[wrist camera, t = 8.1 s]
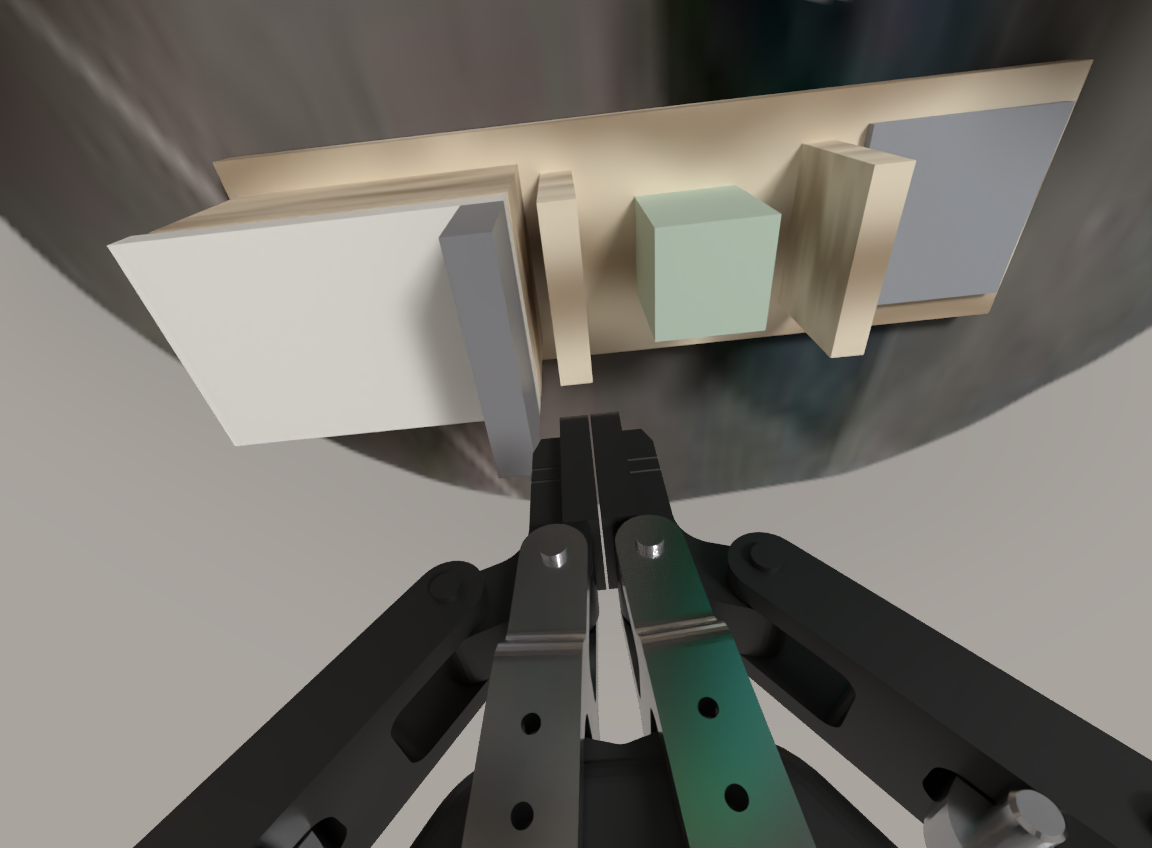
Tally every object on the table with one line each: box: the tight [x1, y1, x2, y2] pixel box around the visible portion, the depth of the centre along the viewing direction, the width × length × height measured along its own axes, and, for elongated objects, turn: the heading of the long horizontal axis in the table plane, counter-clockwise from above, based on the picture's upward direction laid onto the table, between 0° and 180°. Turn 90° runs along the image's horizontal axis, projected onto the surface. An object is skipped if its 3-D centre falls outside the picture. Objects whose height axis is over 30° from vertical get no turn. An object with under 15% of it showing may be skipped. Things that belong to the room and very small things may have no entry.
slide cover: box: [107, 194, 540, 478], centre depth 19 cm, size 9×14×5 cm, turn 96°
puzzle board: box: [150, 59, 1094, 397], centre depth 24 cm, size 12×40×8 cm, turn 96°
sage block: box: [634, 185, 782, 342], centre depth 23 cm, size 5×5×6 cm
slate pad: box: [864, 101, 1075, 305], centre depth 25 cm, size 9×9×1 cm
